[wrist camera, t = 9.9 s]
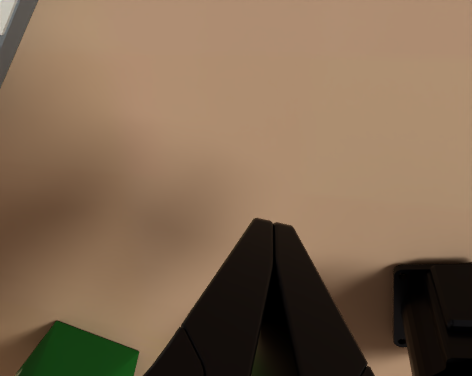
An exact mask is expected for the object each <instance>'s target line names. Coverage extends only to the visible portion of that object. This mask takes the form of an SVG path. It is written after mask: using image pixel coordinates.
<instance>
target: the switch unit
mask: <svg viewBox="0 0 472 376" xmlns="http://www.w3.org/2000/svg"><path fill="white" fill-rule="evenodd" d="M37 2H38V0H0V87H1V85H2V83H3V81H4V78H5V76H6V74H7V71H8V69H9V67H10V64H11V62H12V60H13V57H14V55H15V53H16V50H17V48H18V46H19V43H20V41H21V39H22V36H23V34H24V32H25V29H26V27H27V25H28V23H29V20H30V18H31V16H32V13H33V11H34V9H35V6H36V4H37Z"/></svg>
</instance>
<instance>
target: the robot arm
mask: <svg viewBox="0 0 472 376" xmlns="http://www.w3.org/2000/svg"><path fill="white" fill-rule="evenodd" d="M400 273H406V274H404V275H400ZM393 340H394V344H395V345H397V346H399V347H407V349H408V355H409V360H410V366H411V371H412V376H472V264H424V265H398V266H396V267H395V268H394V269H393ZM367 364H368V363H367V361H366V359H365V357H364V355H363V354H362V352H361V350H360V348H359V346H358V344H357V343H356V341H355V339H354V337H353V335H352V333H351V332H350V330H349V328H348V326H347V324H346V322H345V321H344V319H343V317H342V315H341V313H340V312H339V310H338V308H337V306H336V304H335V302H334V301H333V299H332V297H331V295H330V293H329V291H328V290H327V288H326V286H325V284H324V282H323V280H322V279H321V277H320V275H319V273H318V271H317V269H316V268H315V266H314V264H313V262H312V260H311V259H310V257H309V255H308V253H307V251H306V249H305V248H304V246H303V244H302V242H301V240H300V238H299V237H298V235H297V233H296V231H295V229H294V228H293V227H292V226H291V225H287V224H282V223H278V222H276V223H274V224H273V223H272V222H271V221H269V220H264V219H260V218H255V219H253V221H252V222H251V223H250V225H249V226H248V228H247V229H246V231H245V232H244V234H243V235H242V237H241V238H240V240H239V241H238V242H237V244H236V245H235V247H234V248H233V250H232V251H231V253H230V254H229V256H228V257H227V259H226V260H225V262H224V263H223V264H222V266H221V267H220V269H219V270H218V272H217V273H216V275H215V276H214V278H213V279H212V281H211V282H210V283H209V285H208V286H207V288H206V289H205V291H204V292H203V294H202V295H201V297H200V298H199V300H198V301H197V303H196V304H195V305H194V307H193V308H192V310H191V311H190V313H189V314H188V316H187V317H186V319H185V320H184V322H183V323H182V325H181V327H179V328H178V330H177V331H176V333H175V334H174V336H173V337H172V339H171V340H170V342H169V343H168V344H167V346H166V347H165V348H164V350H163V351H162V352H161V354H160V355H159V356H158V358H157V359H156V361H155V362H154V363H153V365H152V366H151V367H150V368H149V369H148V371H147V372H146V373H145V374H144V375H143V376H251V374H252V376H375V375H374V373H373V372H372V370H371V368H370V367H369V366H367ZM366 366H367V367H366Z"/></svg>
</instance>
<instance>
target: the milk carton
mask: <svg viewBox="0 0 472 376" xmlns="http://www.w3.org/2000/svg"><path fill="white" fill-rule="evenodd" d="M138 355H139V351H137V350H134V349H131V348H129V347H126V346H123V345H120V344H118V343H115V342H112V341H110V340H107V339H104V338H102V337H99V336H96V335H94V334H91V333H88V332H86V331H83V330H80V329H78V328H75V327H72V326H70V325H67V324H64V323H62V322H59V321H56V322H55V323H54V325H53V326H52V327H51V329H50V330H49V331H48V333H47V334H46V335H45V337H44V338H43V339H42V340H41V342H40V343H39V344H38V346H37V347H36V348H35V350H34V351H33V352H32V354H31V355H30V356H29V357H28V359H27V360H26V361H25V363H24V364H23V365H22V367H21V368H20V369H19V371H18V372H17V373H16V375H15V376H134V372H135V368H136V364H137V359H138Z"/></svg>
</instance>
